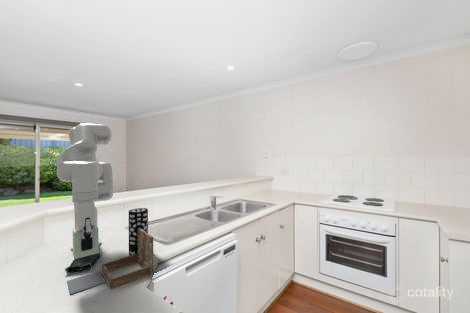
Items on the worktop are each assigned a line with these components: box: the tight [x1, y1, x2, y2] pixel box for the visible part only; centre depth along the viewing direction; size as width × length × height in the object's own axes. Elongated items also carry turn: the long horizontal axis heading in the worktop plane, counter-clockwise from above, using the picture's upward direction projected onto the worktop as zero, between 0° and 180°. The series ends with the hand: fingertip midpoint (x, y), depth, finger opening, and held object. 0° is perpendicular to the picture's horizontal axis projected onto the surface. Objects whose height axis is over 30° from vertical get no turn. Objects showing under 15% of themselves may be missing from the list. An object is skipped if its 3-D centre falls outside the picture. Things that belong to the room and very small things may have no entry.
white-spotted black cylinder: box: [128, 207, 149, 256], centre depth 101 cm, size 8×8×20 cm
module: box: [72, 225, 100, 260], centre depth 77 cm, size 5×7×10 cm
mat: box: [66, 270, 106, 296], centre depth 77 cm, size 10×10×1 cm
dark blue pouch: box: [64, 251, 102, 275], centre depth 91 cm, size 9×6×15 cm
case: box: [101, 228, 155, 290], centre depth 83 cm, size 16×15×14 cm
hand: (85, 246), depth 77 cm, fingers closed on module, 5 cm apart
